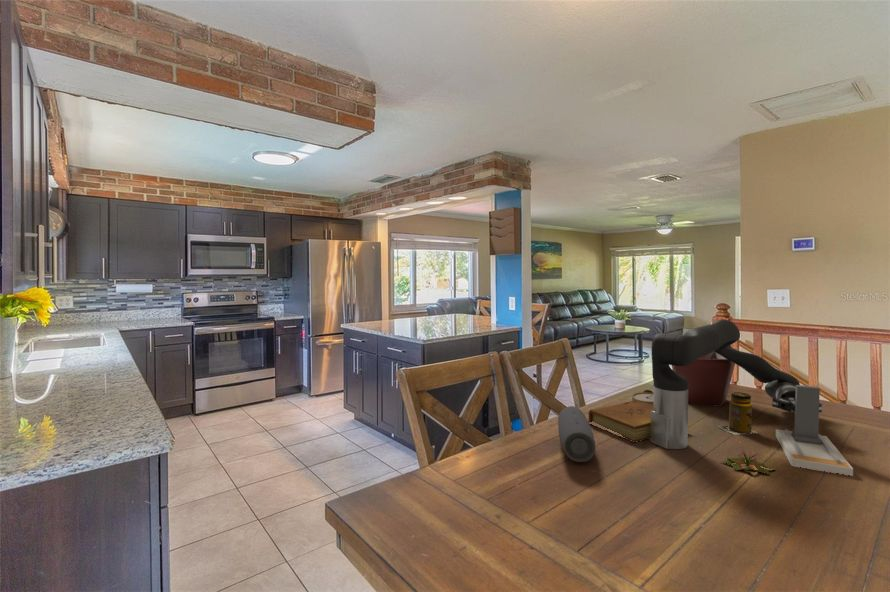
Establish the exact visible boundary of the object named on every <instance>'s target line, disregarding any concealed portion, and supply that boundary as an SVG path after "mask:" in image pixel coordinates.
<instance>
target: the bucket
mask: <svg viewBox="0 0 890 592" xmlns="http://www.w3.org/2000/svg"><path fill="white" fill-rule="evenodd" d="M728 347H729V348H731V349H734V350H737V349H736V348H734V347H732V344H731V345H729V346H728ZM735 366H736V364H735V363H733V362H731V361H730V360H728V359H726V358H724V357H723V356H721V355H719V354H718V353H716V352H712V353H710V354H707V355H705V356H702V357H700V358H698V359H697V360H696V361H694V362H693V363H692V364H690V365H688V366H674V365H671V369H672V370H673V371H674V372H676V373H677V374H679V375H681V376H683V377H685V378H686V379H687V380H688V403H689V402H690V404H693V403H694V404H693V405H697V404H698V406H707V405H721V406H723V404H725V401H726V402H727V398H728V397H727V396H728V393H729V390H730V386H731V381H732V379H733V378H732V377H733V375H734V374H733V373H734V369H735Z"/></svg>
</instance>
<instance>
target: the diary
mask: <svg viewBox="0 0 890 592" xmlns="http://www.w3.org/2000/svg"><path fill="white" fill-rule="evenodd" d="M651 411H653V405H651V404H648V403H644V402H641V401H638V400H635V401H632V400H631V401H627V402H626V401H625V402H622V403H616V404H613V405H608V406H603V407H597V408H594V409H590V410H589V411H588V423H589V422H592V421H593V422H595V423H597V424H599V425H601V426H603V427H605V428H607V429H610V430H612V431H614V432H617V433H619V434H621V435H622V436H623V437H625V438H627V439H629V440H632V441H634V442H636V441H640V440H643V441H645V440H644V439H647V440H649V439H648V438H650V437H651ZM629 440H628V441H629ZM634 442H633V443H634ZM640 442H641V441H640ZM636 443H637V442H636Z"/></svg>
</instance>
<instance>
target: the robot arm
mask: <svg viewBox="0 0 890 592" xmlns="http://www.w3.org/2000/svg"><path fill="white" fill-rule="evenodd" d="M740 338H741V332H740V330H739V327H738V326H737V325H736V324H735V323H734V322H732V321H731V320H728V319H724V318H722V319H718V320H717V321H714V322H713V323H711V324H706V325H702V326H697V327H694V328H691V329H689V330H687V331H686V332H685V333H684V334H674V333H662V332H661V333H660V332H659V333H657V334H655V335H654V337H653V339H652V341H651V364H652V365H651V366H652V367H651V370H652V371H651V372H652V374H651V375H652V380H653V393H654V394H653V411H651V437H650V439H649V440H650V442H651V443H653V444H655V445H656V446H660V448H661V447H662V448H664V449H666V450H668V449H669V450H670V449H671V450H682V449H683V450H684V449H686V448H687V447H688V435H689V434H688V430H689V428H688V424H689V423H688V421H689V418H688V416H689V414H688V413H689V412H688V411H689V402H688V380H687V379H686V378H685V377H683V376H681V375H679V374H677V373H676V372H674V371H673V370H672V367H671V366H672V365H674V366H688V365H690V364H692V363H693V362H694V361H696V360H697V359H698V358H700V357H702V356H705V355H707V354H710V353H712V352H716V353H718V354H719V355H721V356H723V357H724V358H726V359H728V360H730V361H731V362H733V363H735V365H737V366H739V367H741V368H742V369H743V370H744V371H745V372H747V373H749V375H750V376H752V377H753V378H754V379H756V380H757V381H758V382H760V383H762V384H765V386H764V391H765V393H766V394H767V396H769V397H770V398H771V399H772V402H771V403H772V405H771V406H772V407H773V408H777V409H780V410H782V411H786V412H788V413H793V414H795V393H796V385H801V384H800V382H799V380H798V379H797V378H796V377H795V376H793V375H791V374H789V373H787V372H784V371H782V370H780V369H777V368H776V367H775V366H773V365H771V364H770V363H769V362H768V361H767V360H766V359H765V358H763V357H761V356H759V355H757V354H754V353H751V352H746V351H740V350H737V349H736V350H734V349H735V348H734V349H731V348H729V347H728V346H729V345H731V346H732V345H733V344H735V343H737V341H739V339H740ZM820 413H823V404H822V403H820V402H819V414H820Z"/></svg>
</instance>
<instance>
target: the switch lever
mask: <svg viewBox="0 0 890 592" xmlns="http://www.w3.org/2000/svg"><path fill="white" fill-rule="evenodd" d="M819 403H820V387H819V386H812V385H802V384H800V385H796V393H795V413H794V431H791V432H792V433H791V435H792V437H793V438H794V440H797V441H804V442H811V443H818V444H821V439H820V437H819V436H818V434H819V425H820V424H819V422H820V421H819V420H820V413H819Z"/></svg>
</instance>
